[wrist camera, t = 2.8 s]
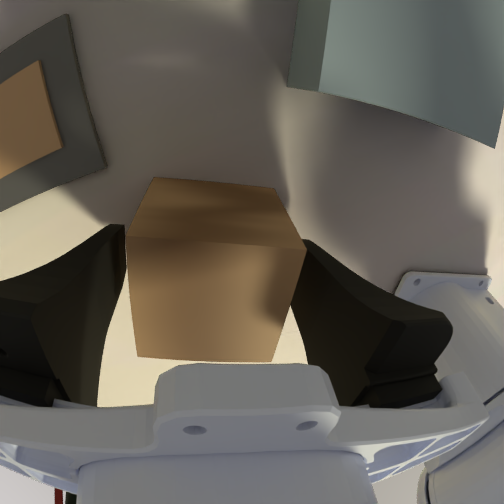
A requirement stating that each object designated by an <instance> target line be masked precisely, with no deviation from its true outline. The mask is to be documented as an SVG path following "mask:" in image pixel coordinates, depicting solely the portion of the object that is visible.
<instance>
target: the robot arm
mask: <svg viewBox="0 0 504 504" xmlns="http://www.w3.org/2000/svg"><path fill="white" fill-rule="evenodd" d="M302 241H303V243H304V245H305V247H306V249H307V251H306V255H305V258H304V261H303V265H302V268H301V271H300V275H299V278H298V281H297V285H296V288H295V291H294V294H293V297H292V301H291V304H290V305H291V308H292V311H293V314H294V317H295V319H296V322H297V325H298V328H299V331H300V334H301V337H302V340H303V343H304V347H305V351H306V356H307V361H308V365H307V364H300V363H293V364H210V363H196V364H187V365H178V366H176V367H174V368H172V369H170V370H168V371H166V372H164V373H163V374H161V375H159V378H158V381H157V383H156V386H155V395H154V404H149V405H137V406H121V407H97V397H98V386H99V376H100V369H101V361H102V355H103V349H104V344H105V339H106V335H107V331H108V327H109V324H110V321H111V318H112V316H113V313H114V310H115V307H116V304H117V301H118V298H119V295H120V293H121V290H122V287H123V282H124V278H125V273H126V268H127V265H126V249H125V226H124V225H118V224H109V225H108V226H106V227H104V228H103V229H101V230H100V231H98V232H97V233H96V234H94V235H93V236H91V237H90V238H88V239H87V240H86V241H84V242H83V243H81V244H80V245H78V246H76V247H75V248H73V249H72V250H70V251H69V252H67V253H66V254H64V255H62V256H60V257H59V258H57V259H55V260H53V261H51V262H49V263H47V264H45V265H43V266H41V267H39V268H36V269H34V270H32V271H29V272H27V273H24V274H22V275H19V276H16V277H13V278H10V279H6V280H3V281H0V465H1V466H3V467H6V468H8V469H10V470H12V471H14V472H16V473H19V474H21V475H23V476H26V477H28V478H31V479H33V480H35V481H38V482H41V483H43V484H46V485H49V486H52V487H54V488H57V489H60V490H63V491H66V492H70V493H73V494H76V495H77V501H76V504H378V502H377V499H376V497H375V493H374V490H373V487H372V484H373V483H375V482H378V481H381V480H384V479H386V478H389V477H391V476H394V475H396V474H399V473H401V472H403V471H406V470H408V469H410V468H413V467H415V466H417V465H419V464H421V463H424V464H425V468H424V469H423V471H422V473H421V475H420V478H419V482H418V489H417V504H504V308H503V307H502V306H501V305H500V304H499V303H498V302H497V300H496V299H495V298H494V297H493V296H492V295H491V294H490V293H489V291H488V290H487V289H488V287H489V285H490V284H491V281H492V279H491V277H490V276H488V275H470V274H450V273H432V272H414V271H411V272H408V273H406V274H405V275H404V276H403V277H402V279H401V281H400V284H399V286H398V288H397V290H396V292H395V294H394V295H393V294H391V293H389V292H386V291H384V290H382V289H381V288H379V287H377V286H375V285H373V284H372V283H370V282H368V281H367V280H365V279H363V278H362V277H360V276H359V275H357V274H356V273H354V272H353V271H351V270H350V269H348V268H347V267H346V266H344V265H343V264H342V263H340V262H339V261H338V260H336V259H335V258H334V257H332V256H331V255H330V254H328V253H327V252H326V251H325V250H323V249H322V248H321V247H319V246H318V245H316V244H315V243H313V242H312V241H310V240H306V239H302Z"/></svg>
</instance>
